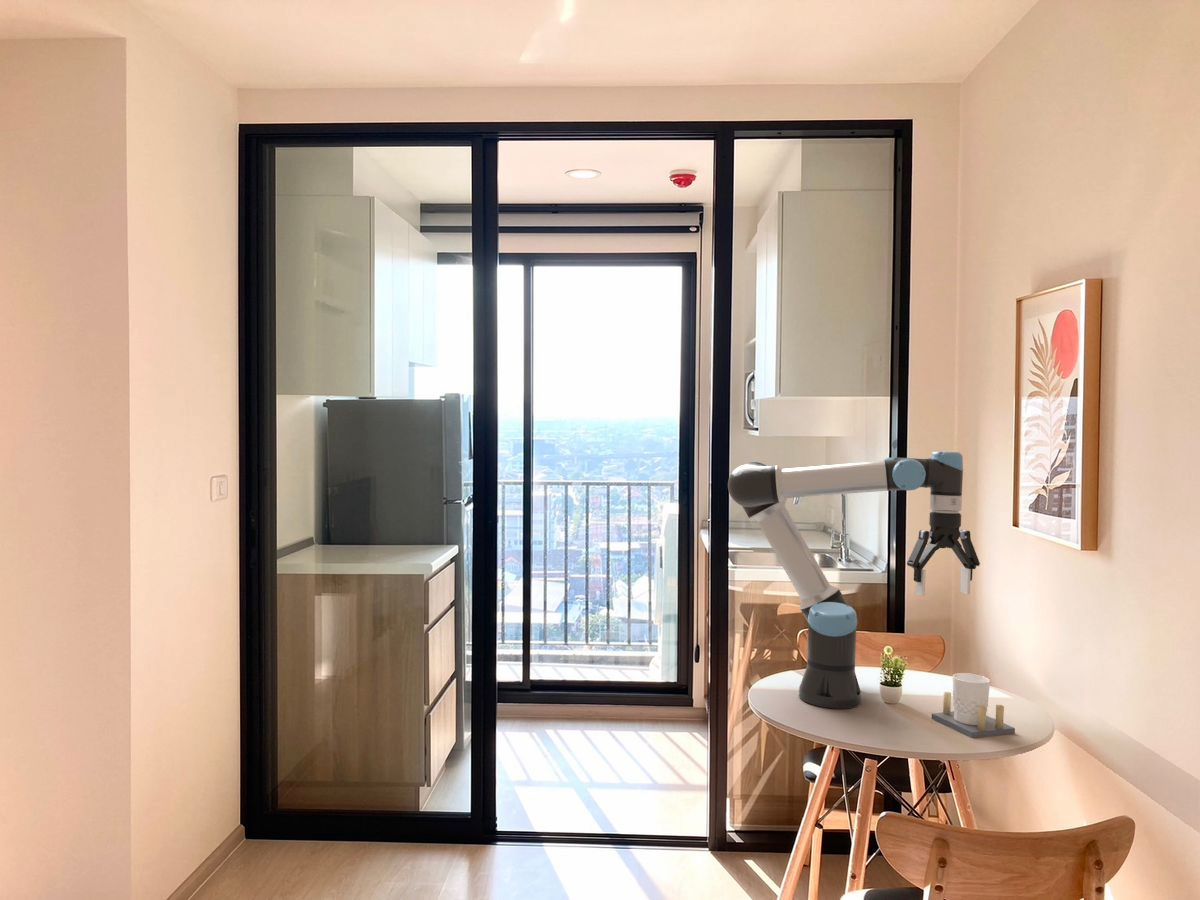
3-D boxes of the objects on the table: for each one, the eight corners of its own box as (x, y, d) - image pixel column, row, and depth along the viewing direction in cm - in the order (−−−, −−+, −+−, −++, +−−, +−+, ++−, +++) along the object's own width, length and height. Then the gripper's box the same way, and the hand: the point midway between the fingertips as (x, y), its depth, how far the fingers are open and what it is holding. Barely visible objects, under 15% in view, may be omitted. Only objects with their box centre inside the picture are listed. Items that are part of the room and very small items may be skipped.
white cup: (994, 727, 188) (996, 683, 188) (959, 726, 188) (961, 682, 188) (979, 715, 196) (981, 673, 196) (945, 714, 196) (947, 672, 196)
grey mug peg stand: (971, 737, 184) (972, 710, 184) (931, 718, 197) (932, 692, 197) (1014, 733, 188) (1015, 706, 188) (972, 714, 200) (973, 689, 200)
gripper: (913, 512, 206) (910, 598, 206) (996, 513, 213) (993, 595, 213) (894, 510, 213) (891, 592, 213) (975, 510, 220) (973, 590, 220)
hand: (942, 594), depth 213 cm, fingers open, 13 cm apart
